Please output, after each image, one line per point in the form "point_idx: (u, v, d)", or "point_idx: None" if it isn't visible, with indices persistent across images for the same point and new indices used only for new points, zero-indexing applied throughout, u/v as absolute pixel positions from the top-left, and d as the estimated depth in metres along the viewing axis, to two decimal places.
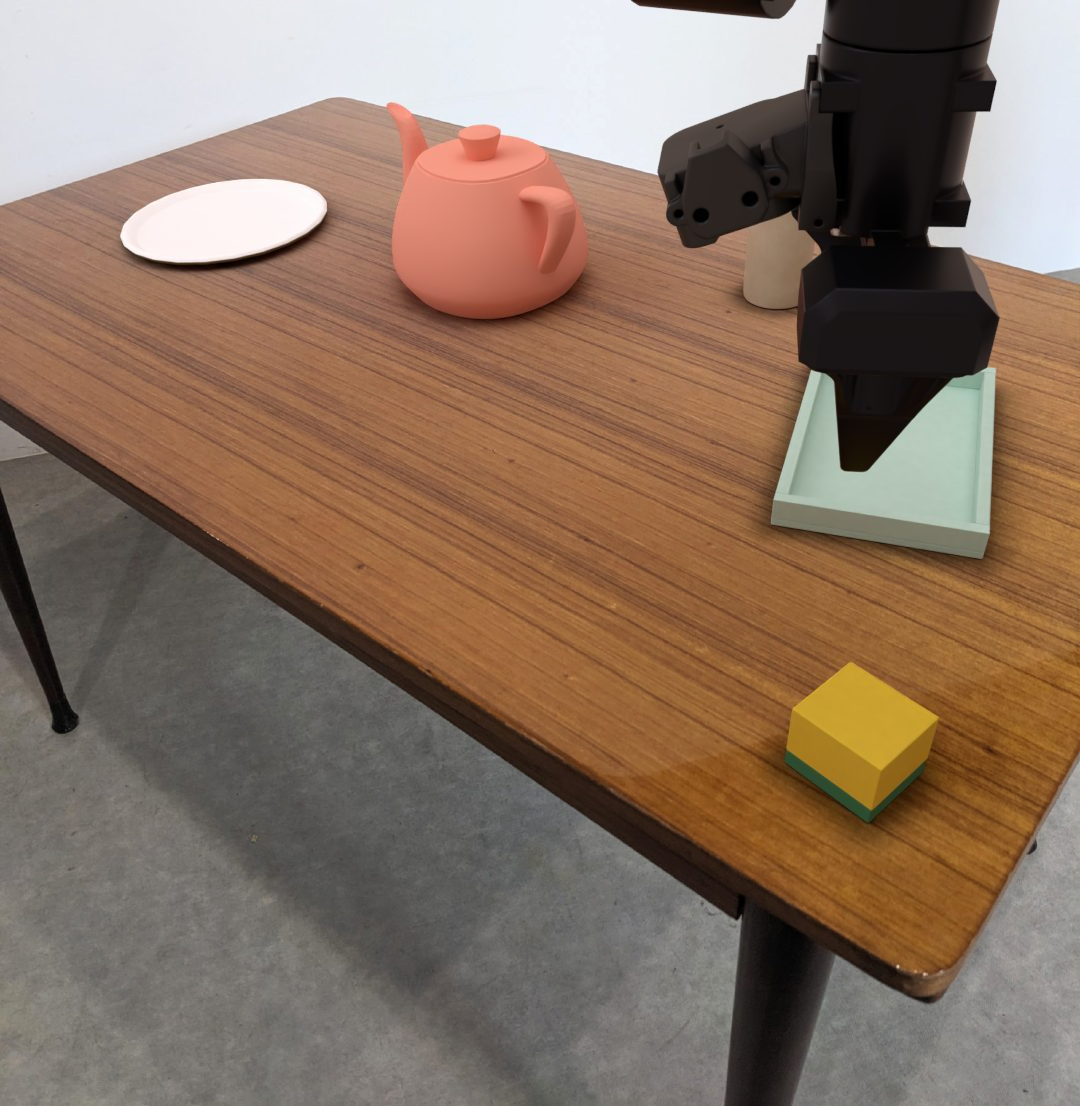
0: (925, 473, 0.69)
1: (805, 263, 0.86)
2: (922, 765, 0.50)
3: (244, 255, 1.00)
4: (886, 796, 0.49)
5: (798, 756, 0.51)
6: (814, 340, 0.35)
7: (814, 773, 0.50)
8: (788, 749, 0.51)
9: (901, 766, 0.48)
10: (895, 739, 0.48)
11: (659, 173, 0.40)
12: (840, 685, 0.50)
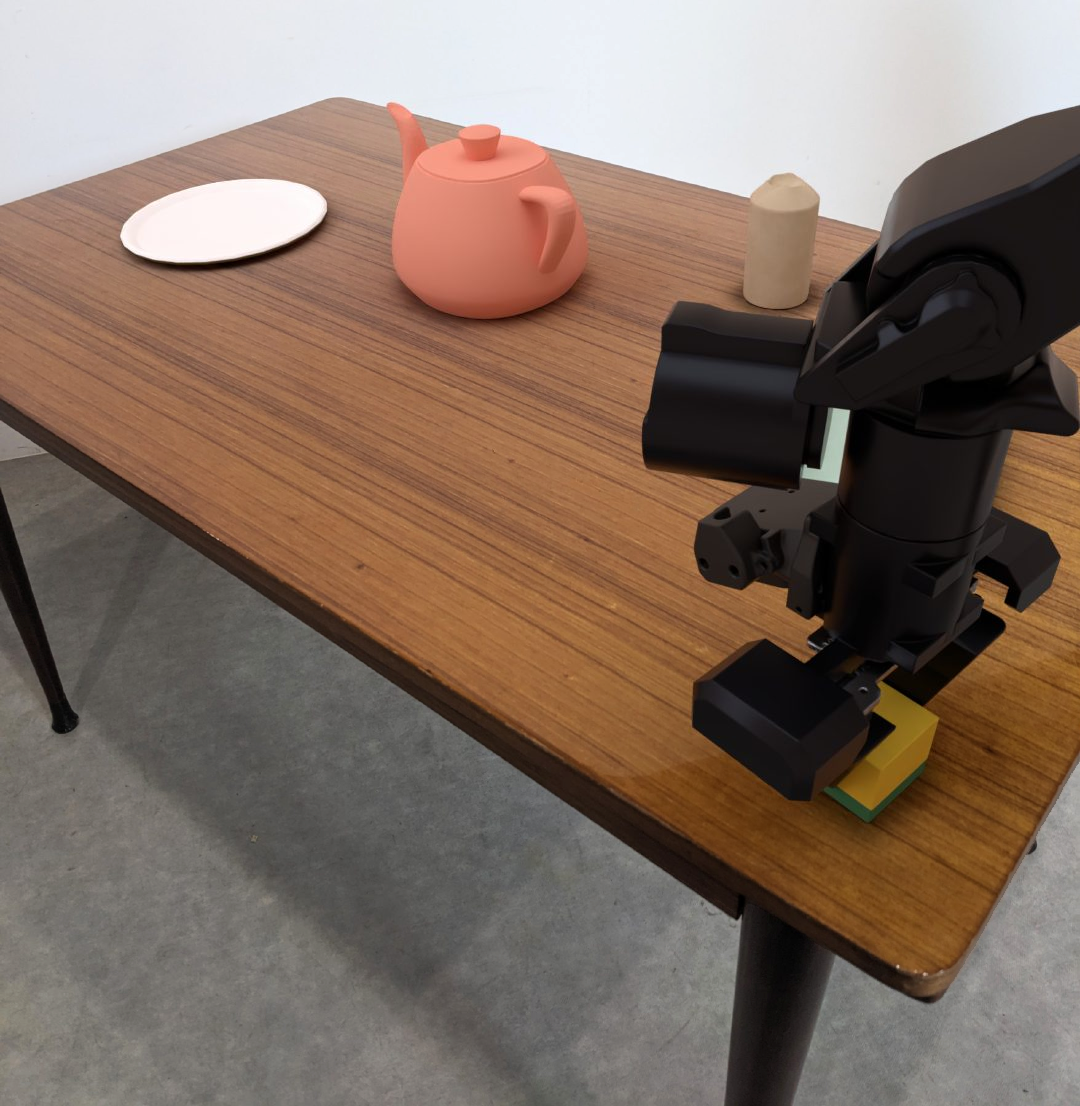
0: None
1: (805, 263, 0.86)
2: (922, 765, 0.50)
3: (244, 255, 1.00)
4: (886, 796, 0.49)
5: None
6: (693, 706, 0.43)
7: None
8: None
9: (901, 766, 0.48)
10: (895, 739, 0.48)
11: (713, 511, 0.48)
12: None
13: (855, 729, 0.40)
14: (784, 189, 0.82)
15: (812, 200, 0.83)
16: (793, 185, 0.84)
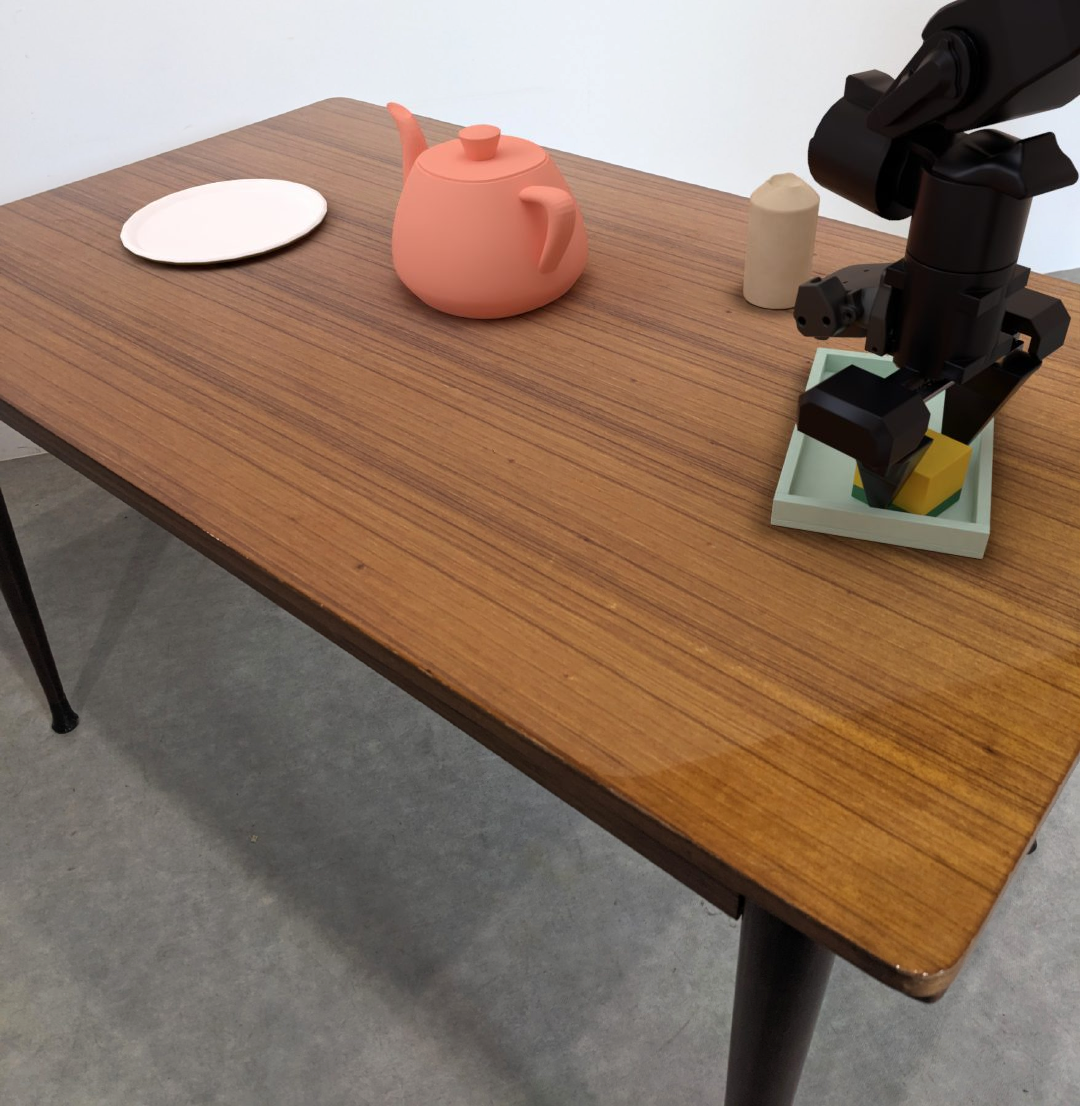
0: None
1: (805, 263, 0.86)
2: (958, 492, 0.66)
3: (244, 255, 1.00)
4: (932, 509, 0.64)
5: None
6: (798, 412, 0.58)
7: None
8: (855, 483, 0.66)
9: (944, 483, 0.63)
10: (939, 460, 0.63)
11: None
12: None
13: (920, 416, 0.56)
14: (784, 189, 0.82)
15: (812, 200, 0.83)
16: (793, 185, 0.84)
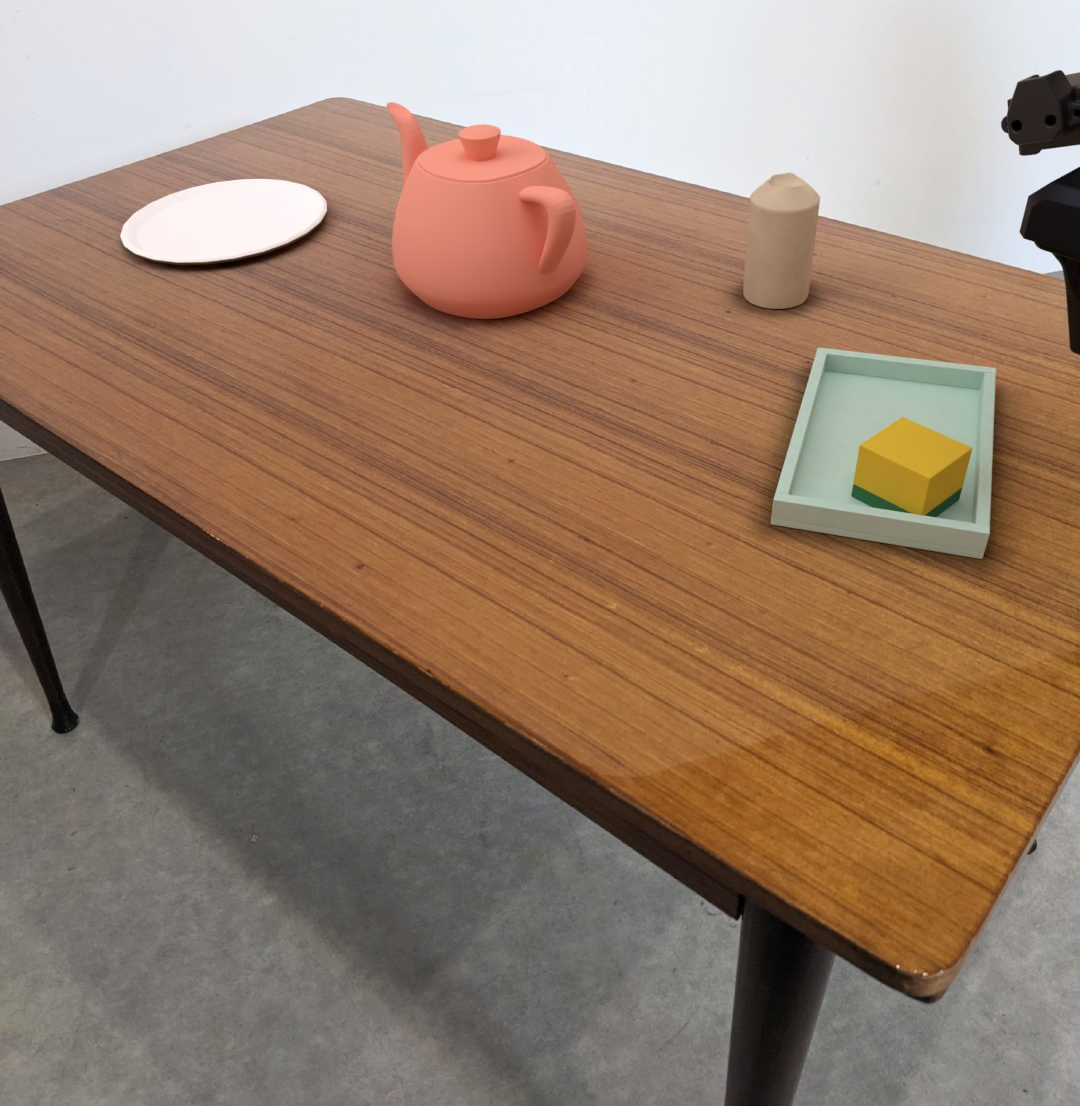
0: None
1: (805, 263, 0.86)
2: (958, 492, 0.66)
3: (244, 255, 1.00)
4: (932, 509, 0.64)
5: (863, 487, 0.66)
6: (1027, 216, 0.51)
7: (875, 498, 0.66)
8: (855, 483, 0.66)
9: (944, 483, 0.63)
10: (939, 460, 0.63)
11: None
12: (896, 430, 0.66)
13: None
14: (784, 189, 0.82)
15: (812, 200, 0.83)
16: (793, 185, 0.84)
